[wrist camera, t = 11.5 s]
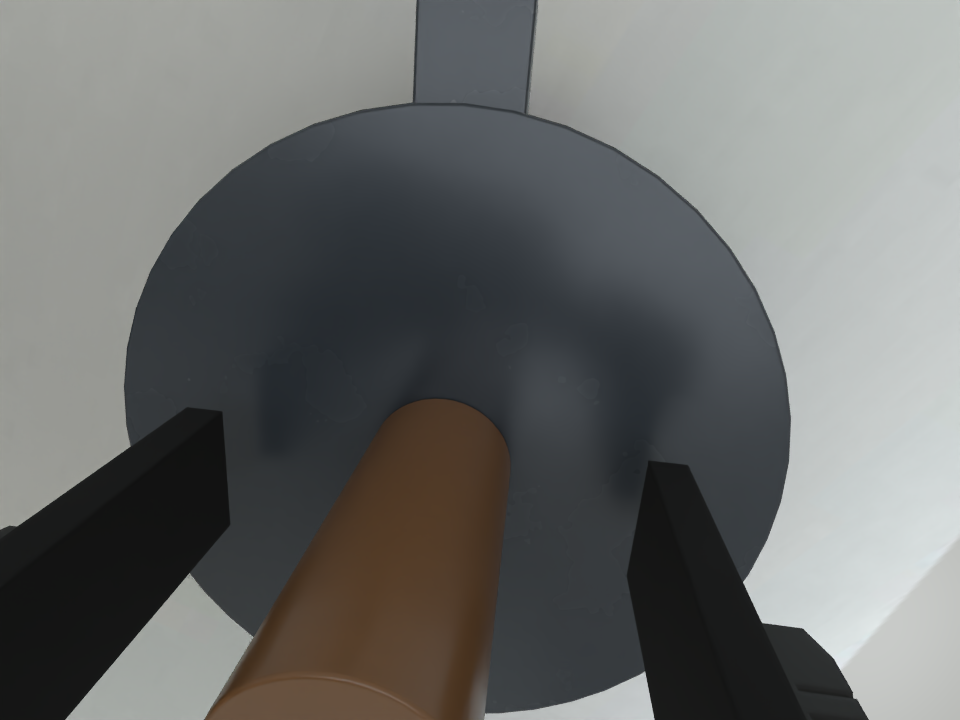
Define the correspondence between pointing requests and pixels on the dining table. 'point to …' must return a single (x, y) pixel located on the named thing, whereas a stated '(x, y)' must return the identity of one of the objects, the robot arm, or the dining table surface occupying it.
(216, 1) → the dining table surface
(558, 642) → the lid
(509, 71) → the pot
